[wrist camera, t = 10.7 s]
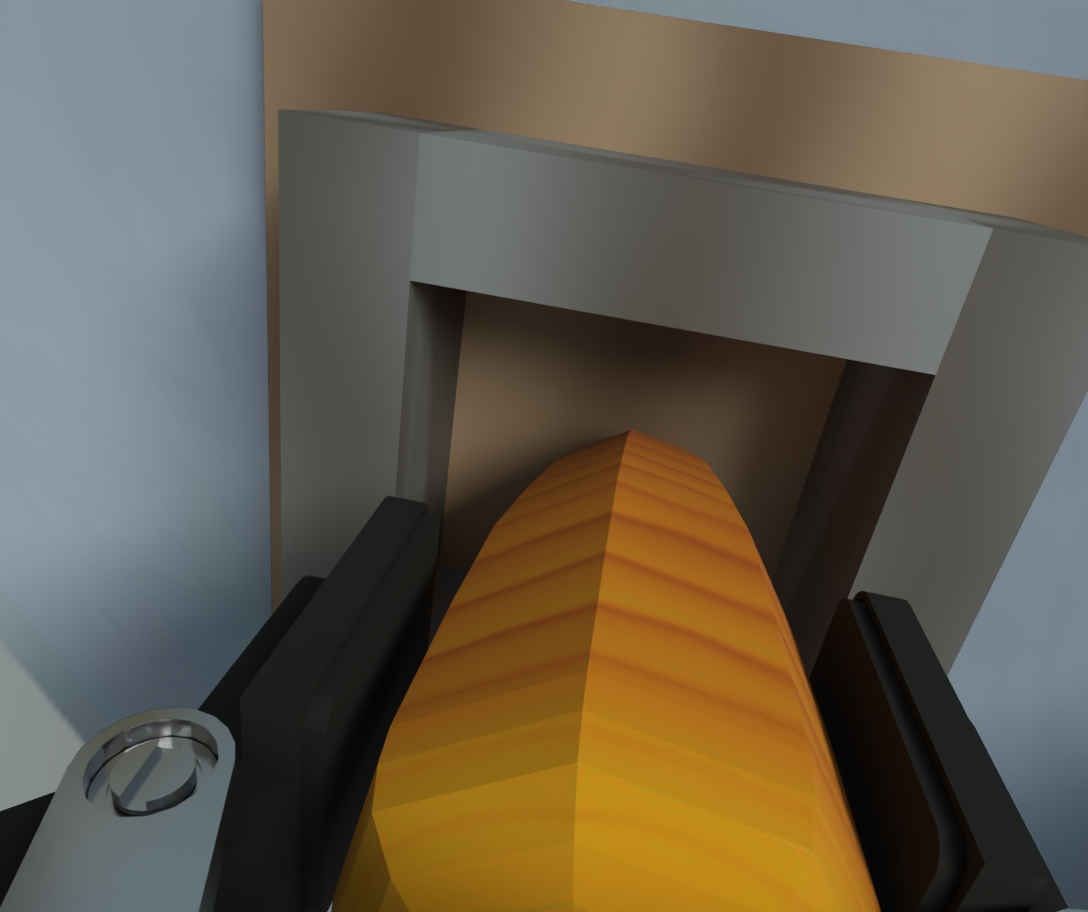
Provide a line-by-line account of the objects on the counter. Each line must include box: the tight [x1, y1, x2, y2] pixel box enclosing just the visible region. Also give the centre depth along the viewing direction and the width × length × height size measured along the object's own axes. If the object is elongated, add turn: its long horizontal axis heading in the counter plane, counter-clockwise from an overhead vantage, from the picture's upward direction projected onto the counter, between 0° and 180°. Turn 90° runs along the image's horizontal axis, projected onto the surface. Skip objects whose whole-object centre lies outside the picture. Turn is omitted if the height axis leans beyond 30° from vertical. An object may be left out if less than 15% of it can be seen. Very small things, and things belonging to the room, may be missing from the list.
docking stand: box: [263, 0, 1088, 677], centre depth 15 cm, size 16×16×5 cm
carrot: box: [331, 429, 881, 912], centre depth 9 cm, size 5×5×15 cm
